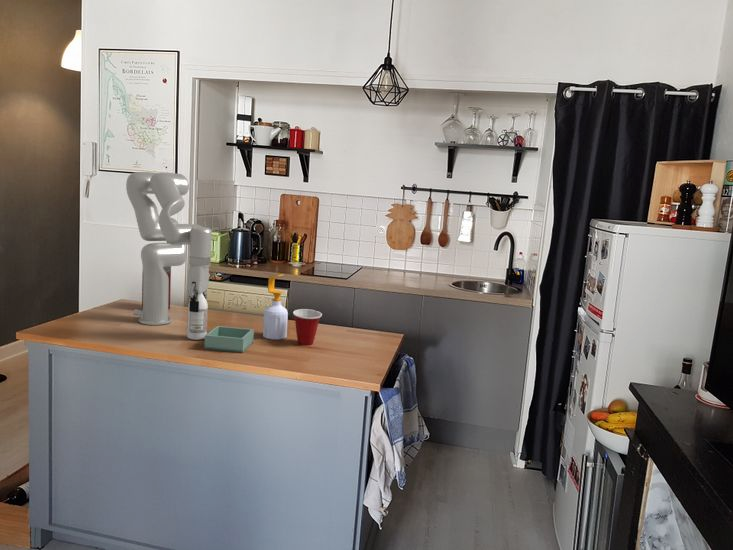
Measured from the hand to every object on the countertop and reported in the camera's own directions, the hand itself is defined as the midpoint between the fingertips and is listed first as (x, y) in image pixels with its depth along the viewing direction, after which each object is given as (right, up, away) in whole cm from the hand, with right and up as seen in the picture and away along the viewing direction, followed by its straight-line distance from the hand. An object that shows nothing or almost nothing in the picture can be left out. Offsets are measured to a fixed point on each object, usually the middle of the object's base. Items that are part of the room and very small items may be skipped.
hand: (197, 308), depth 212 cm
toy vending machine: (-30, -3, +41) cm, 50 cm away
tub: (+13, -13, -4) cm, 19 cm away
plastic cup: (+39, -13, +6) cm, 41 cm away
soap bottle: (+26, -12, +12) cm, 31 cm away
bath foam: (-1, -11, +2) cm, 11 cm away
